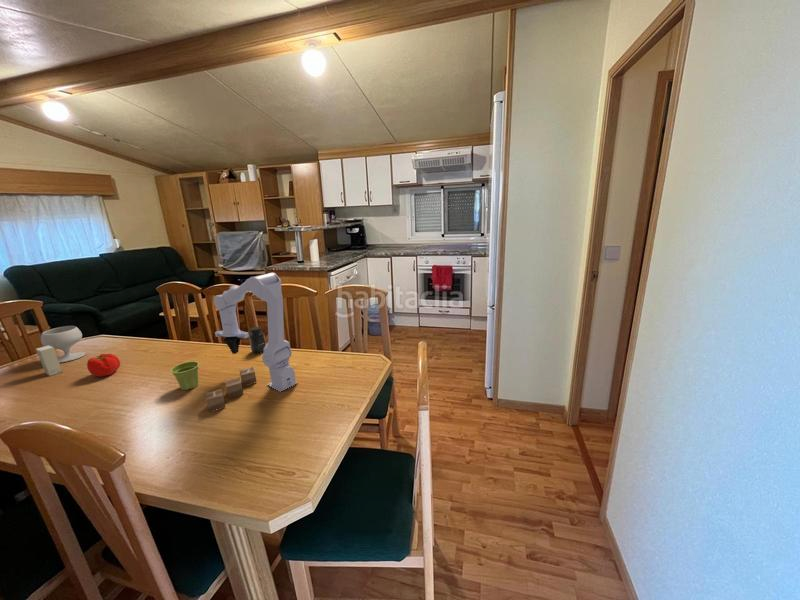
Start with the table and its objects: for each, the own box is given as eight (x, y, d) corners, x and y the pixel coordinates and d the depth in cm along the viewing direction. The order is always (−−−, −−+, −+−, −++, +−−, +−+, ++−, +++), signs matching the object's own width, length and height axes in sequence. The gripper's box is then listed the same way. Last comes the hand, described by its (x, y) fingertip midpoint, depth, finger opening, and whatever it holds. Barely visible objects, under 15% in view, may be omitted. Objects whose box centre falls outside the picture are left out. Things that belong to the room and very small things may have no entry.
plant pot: (190, 393, 122) (185, 373, 120) (169, 391, 124) (164, 371, 122) (208, 381, 131) (204, 362, 129) (189, 379, 133) (184, 360, 131)
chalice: (61, 354, 163) (51, 327, 159) (94, 350, 167) (85, 323, 163) (41, 366, 150) (29, 337, 146) (77, 361, 154) (67, 332, 150)
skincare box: (63, 371, 144) (54, 347, 141) (49, 376, 141) (39, 351, 137) (58, 369, 147) (49, 344, 144) (44, 373, 144) (35, 348, 140)
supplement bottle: (263, 354, 155) (259, 330, 152) (249, 354, 155) (245, 331, 152) (268, 348, 161) (265, 325, 158) (255, 348, 162) (251, 326, 158)
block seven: (256, 382, 129) (254, 371, 127) (243, 386, 126) (240, 375, 125) (254, 377, 133) (252, 366, 131) (241, 381, 130) (239, 370, 129)
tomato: (94, 382, 134) (87, 363, 131) (88, 375, 140) (82, 357, 138) (125, 372, 142) (120, 354, 139) (118, 365, 148) (113, 348, 146)
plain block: (243, 394, 121) (241, 382, 119) (228, 398, 118) (226, 386, 117) (241, 388, 125) (239, 377, 123) (227, 392, 122) (225, 381, 121)
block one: (225, 407, 113) (222, 394, 111) (209, 412, 110) (206, 399, 109) (224, 400, 117) (221, 388, 115) (208, 405, 114) (205, 393, 113)
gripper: (251, 319, 133) (256, 349, 137) (221, 318, 136) (227, 347, 140) (239, 325, 126) (245, 357, 130) (208, 324, 129) (215, 354, 133)
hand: (235, 352), depth 134 cm, fingers closed
